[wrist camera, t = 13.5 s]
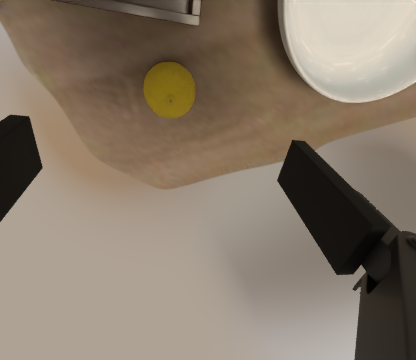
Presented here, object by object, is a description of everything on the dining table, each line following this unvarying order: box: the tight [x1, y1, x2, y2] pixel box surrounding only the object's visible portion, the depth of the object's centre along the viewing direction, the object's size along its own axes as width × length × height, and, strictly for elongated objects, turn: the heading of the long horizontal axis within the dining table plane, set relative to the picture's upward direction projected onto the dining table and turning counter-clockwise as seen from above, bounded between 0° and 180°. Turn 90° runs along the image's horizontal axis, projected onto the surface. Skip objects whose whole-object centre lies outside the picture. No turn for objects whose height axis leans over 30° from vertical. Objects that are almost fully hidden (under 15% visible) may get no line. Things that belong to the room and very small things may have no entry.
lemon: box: [143, 61, 196, 118], centre depth 26 cm, size 6×6×8 cm
